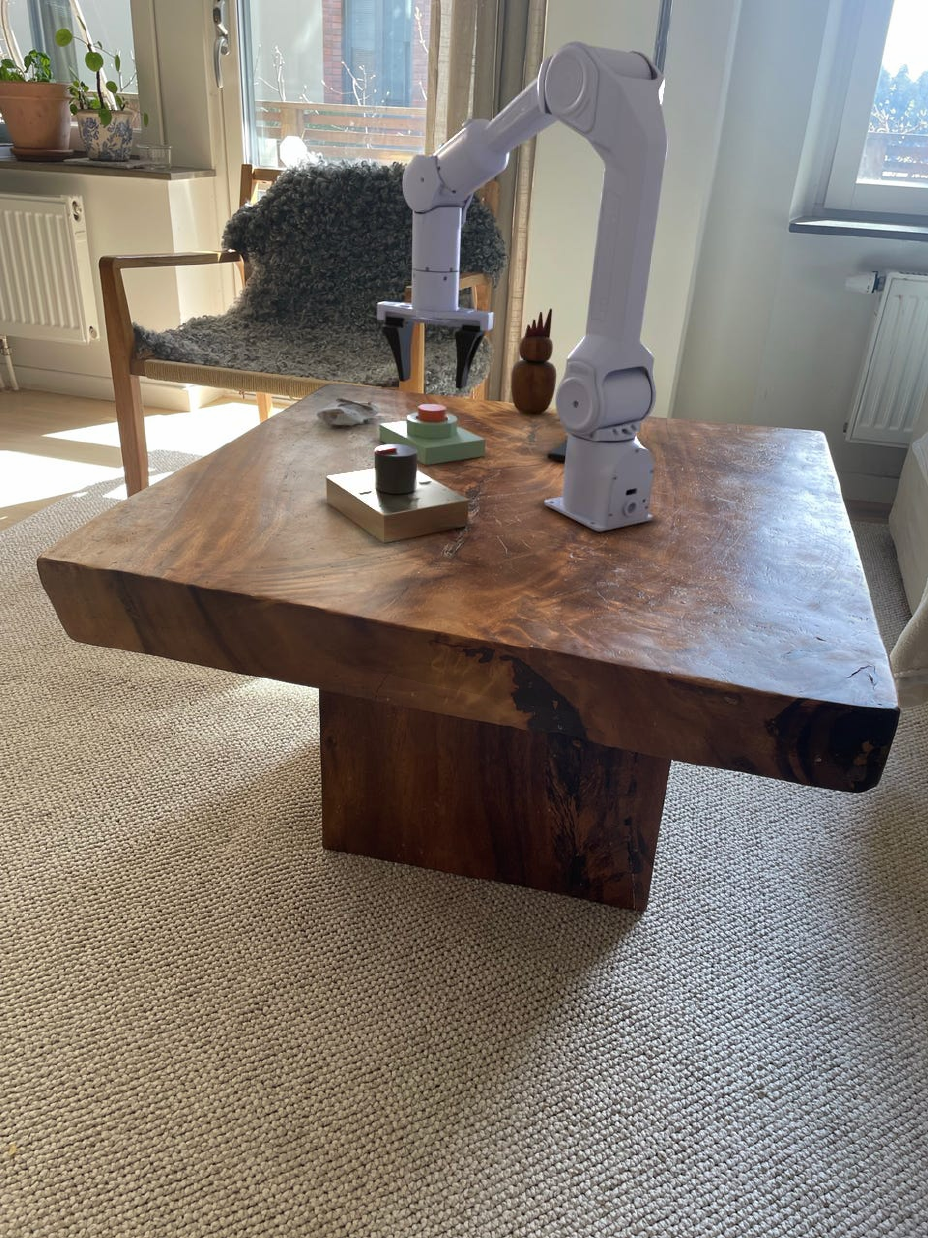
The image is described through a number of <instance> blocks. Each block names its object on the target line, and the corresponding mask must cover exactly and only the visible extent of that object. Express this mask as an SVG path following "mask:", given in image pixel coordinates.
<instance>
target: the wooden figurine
mask: <svg viewBox="0 0 928 1238" xmlns="http://www.w3.org/2000/svg"><path fill="white" fill-rule="evenodd" d="M543 317H544V316H543V312H542V311H540V312H539V315H538V320H536V319H532V323H531V325H530V324H527V326H526V329H525V333H524V336H523V337H522V338H521V339H520V342H519V348H518V351H519V356H520V358H521V360H520V359H519V361H516V362H515V363H514V364H513V366H512V369H511V374H510V391H511V399H512V402H513V406H514V407H515V409H516V410H518V411H519V412H522V413H526V414H540V413H544V412H546V411H547V410H548V409H549V407H550V406H551V403H552V401H553V399H554V395H555V391H556V390H555V389H556V384H557V369H556V367H555V365H554V364H553V363H552V362H551V361H549V360H550V359H551V358H552V355H553V351H554V347H553V346H554V344H553V340H552V339H551V329H552V319H553V318H552V317H553V308H549V310H548V313H547V316H546V318H545V322H544V319H543Z"/></svg>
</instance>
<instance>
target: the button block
mask: <svg viewBox="0 0 928 1238" xmlns="http://www.w3.org/2000/svg"><path fill="white" fill-rule="evenodd" d="M379 441H380V442H382V443H384V444H385V445H387V444H402V445H408V446H411V447H414V448H416V449H417V462H419V463H420V464H421V465H424V466H429V465H435V464H442V463H447V462H448V463H449V462H455V461H461V460H468V459H474V458H480V457H485V455H486V443H487V442H486V439H485V438H483V437H481V436H479V435H476V434H475V433H473V432H471V431H468V430H466V429H464V428H462V427H459V426H458V417H457V416H455V415H453V414H451V413H448V412H446V421H444V422H424V421H420V420H418V411H417V412H412V413H410V414H408V415H406V420H399V421H394V422H385V423H379Z"/></svg>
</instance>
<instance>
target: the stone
mask: <svg viewBox="0 0 928 1238" xmlns="http://www.w3.org/2000/svg"><path fill="white" fill-rule="evenodd" d="M380 413H381V409H380V407H379V405H377V404H375V403H373V402H372V400H370V401H356V400H349V399H346V398H341V397H337V398H336V399H335V400H334V401H333V402H331V403H329V404H328V405H327V406H326V407H324V408H323V407H322V408H319V409H318V410H317V411H316V416H317V418H318V419H319V420H321V421H323V422H324V423H325V425H326V426H328V427H335V426H349V427H353V426H354V425H356V424H359V425H363V424H365V422H370V420H371V419H372V418H374V417H376V416H377V415H378V414H380Z"/></svg>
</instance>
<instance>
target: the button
mask: <svg viewBox="0 0 928 1238" xmlns="http://www.w3.org/2000/svg"><path fill="white" fill-rule="evenodd" d="M417 412H418V420H420V421H424V422H444V421H446V413H447V406H445V405H443V404H438V403H423V404H420V405H419V406H418V407H417Z"/></svg>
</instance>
